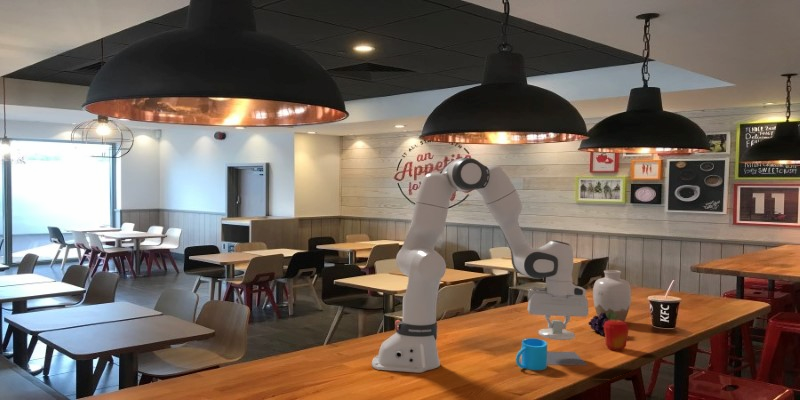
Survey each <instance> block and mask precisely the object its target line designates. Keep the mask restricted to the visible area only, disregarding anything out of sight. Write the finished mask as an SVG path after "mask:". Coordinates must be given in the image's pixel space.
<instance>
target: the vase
mask: <svg viewBox="0 0 800 400" xmlns="http://www.w3.org/2000/svg"><path fill="white" fill-rule="evenodd" d="M603 273H604V277H602V278H601V277H600V278H598V279H596V280H595V282H594V284H593V288H592V289H593V290H592V299H593V304H594V305H593V306H594V309H595V313H596V316H598V317H599V316H600V314H601V313H605V312H609V313H610V312H611V311H613V312H614V314H615V316H616V315H617V318H618V320H620V321H623V322H625V321H626V319H627V317H628V313H629V310H630V307H631V302H632V288H631V287H632V286H631V285H630V282H628V281H627V280H626V279H623V278H621V274H622V271H621V270H616V269H615V270H614V269H605V270H603Z"/></svg>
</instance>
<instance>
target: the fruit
mask: <svg viewBox="0 0 800 400" xmlns="http://www.w3.org/2000/svg"><path fill="white" fill-rule="evenodd" d="M609 320H618V318H617V315H616V316H615V314H614V312H613V311H611V312H610V313H609V312H605V313H601V314H600V316H599V317H598V316H597V315H593V317H592V318H591V319H590V321H588V325H589V326H590V328H591V330H593V331H594V332H597V333H599V334H600V335H601V336H603V337H604V336H605V332H604V323H605V322H606V321H609Z"/></svg>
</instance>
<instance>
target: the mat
mask: <svg viewBox="0 0 800 400" xmlns="http://www.w3.org/2000/svg"><path fill="white" fill-rule="evenodd" d="M547 366H588V364H587V363H586V362H585V360H583V359H582V357H581V356H579V355H578V354H577V353H576V351H547Z"/></svg>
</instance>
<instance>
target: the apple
mask: <svg viewBox="0 0 800 400" xmlns="http://www.w3.org/2000/svg"><path fill="white" fill-rule="evenodd" d="M629 328H630V327H629V326H628V323H627V322H625V321H624V322H623V321H620V320H609V321H606V322H605V323H604V332H605V335H604V336H605V337H604V338H605V345H606V347H607V349H609V350H611V351H616V352H619V351H622V350H624V349H625V348H626V347H627V341H628V337H629V336H628V335H629Z"/></svg>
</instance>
